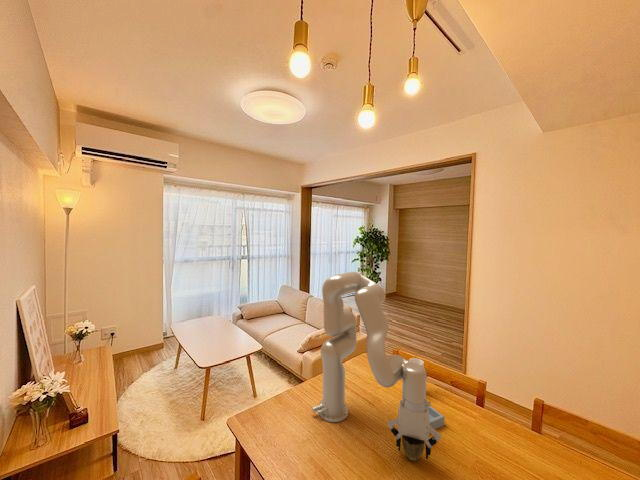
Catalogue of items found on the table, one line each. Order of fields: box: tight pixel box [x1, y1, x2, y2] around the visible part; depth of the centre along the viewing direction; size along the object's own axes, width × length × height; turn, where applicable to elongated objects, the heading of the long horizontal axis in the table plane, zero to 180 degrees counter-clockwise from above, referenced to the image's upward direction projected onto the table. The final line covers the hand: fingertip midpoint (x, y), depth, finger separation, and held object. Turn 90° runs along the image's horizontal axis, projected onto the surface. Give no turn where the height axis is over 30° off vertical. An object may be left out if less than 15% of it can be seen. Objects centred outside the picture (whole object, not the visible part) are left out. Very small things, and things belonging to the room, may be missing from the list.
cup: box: [401, 435, 425, 463], centre depth 88 cm, size 8×7×8 cm
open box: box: [427, 405, 446, 430], centre depth 106 cm, size 10×12×4 cm
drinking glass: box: [408, 357, 425, 368], centre depth 124 cm, size 7×7×15 cm
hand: (412, 452), depth 88 cm, fingers open, 8 cm apart
